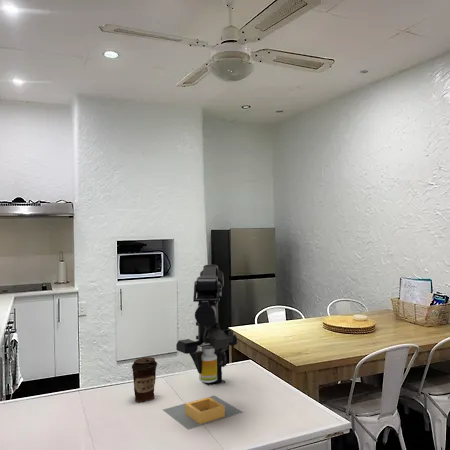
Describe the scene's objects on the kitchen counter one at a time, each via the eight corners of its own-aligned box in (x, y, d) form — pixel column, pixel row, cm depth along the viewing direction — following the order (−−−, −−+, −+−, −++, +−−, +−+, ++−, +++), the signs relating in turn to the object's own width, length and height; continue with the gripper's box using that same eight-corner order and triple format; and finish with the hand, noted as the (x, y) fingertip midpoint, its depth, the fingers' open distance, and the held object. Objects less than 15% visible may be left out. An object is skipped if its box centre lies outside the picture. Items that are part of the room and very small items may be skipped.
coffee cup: (160, 402, 134) (160, 362, 135) (134, 406, 131) (134, 365, 132) (154, 393, 142) (154, 354, 143) (130, 396, 139) (129, 357, 140)
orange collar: (185, 413, 124) (185, 403, 124) (209, 406, 129) (209, 397, 129) (200, 424, 117) (199, 413, 117) (224, 416, 122) (224, 406, 122)
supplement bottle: (220, 381, 123) (219, 348, 124) (203, 384, 121) (203, 350, 121) (212, 376, 128) (212, 344, 128) (196, 378, 126) (196, 346, 126)
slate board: (162, 411, 127) (162, 409, 127) (214, 397, 138) (214, 395, 138) (188, 431, 114) (188, 429, 114) (243, 414, 125) (243, 412, 125)
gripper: (194, 327, 113) (195, 385, 113) (248, 319, 124) (249, 372, 123) (175, 321, 122) (175, 374, 122) (226, 314, 133) (227, 363, 132)
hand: (208, 371), depth 125 cm, fingers closed on supplement bottle, 5 cm apart
